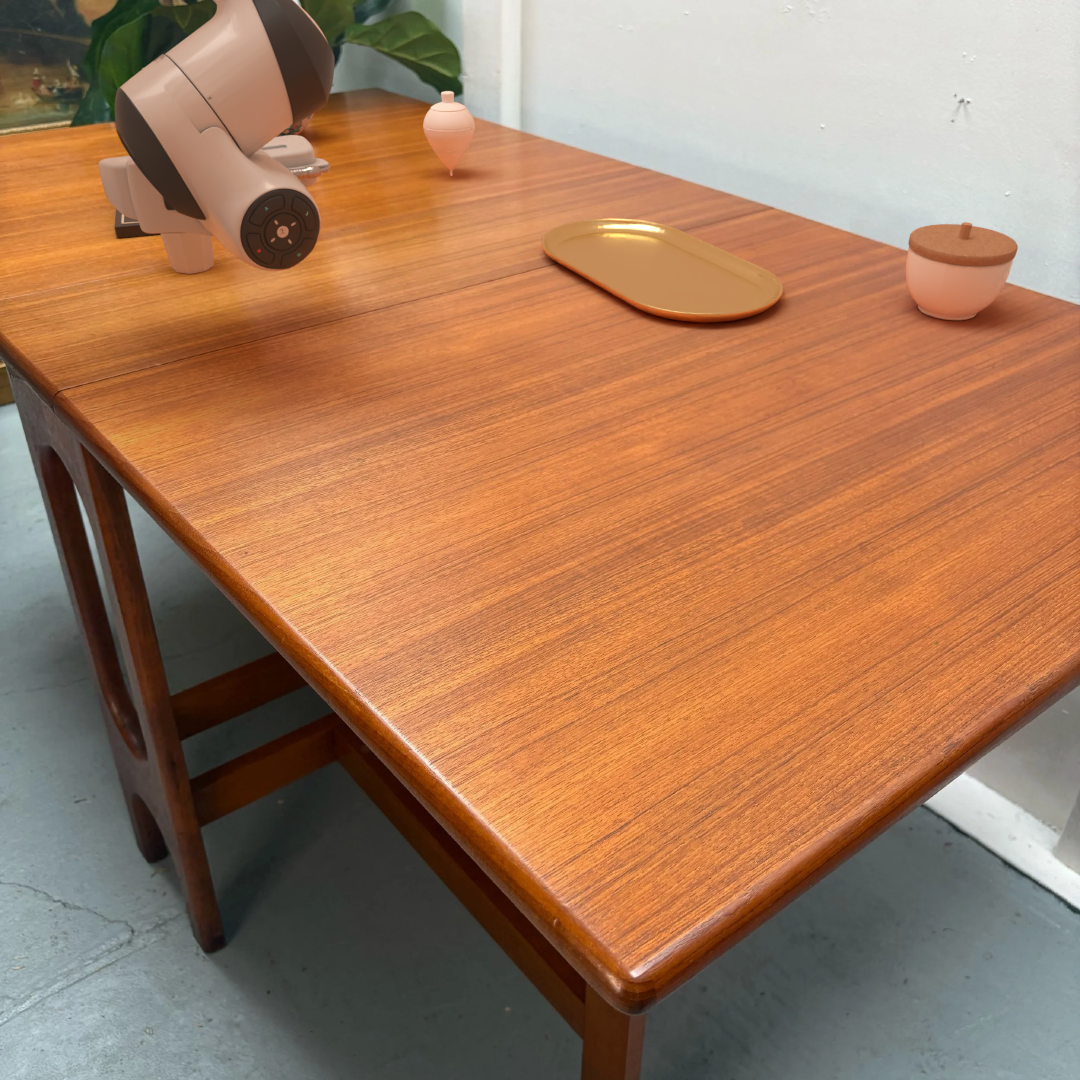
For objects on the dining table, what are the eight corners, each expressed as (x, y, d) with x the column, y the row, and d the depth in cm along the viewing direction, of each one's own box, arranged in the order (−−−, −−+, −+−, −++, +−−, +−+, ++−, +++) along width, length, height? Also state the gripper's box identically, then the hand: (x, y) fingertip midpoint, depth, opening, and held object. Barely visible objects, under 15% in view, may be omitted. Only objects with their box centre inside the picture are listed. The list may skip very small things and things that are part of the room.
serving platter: (636, 222, 137) (637, 210, 136) (817, 307, 112) (819, 293, 111) (514, 244, 129) (513, 232, 128) (678, 341, 104) (679, 326, 103)
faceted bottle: (199, 254, 126) (162, 60, 114) (231, 265, 123) (196, 67, 110) (154, 268, 122) (110, 68, 109) (186, 280, 119) (145, 75, 106)
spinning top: (484, 179, 154) (482, 94, 147) (438, 185, 151) (433, 99, 144) (463, 167, 160) (460, 84, 153) (418, 173, 157) (412, 89, 150)
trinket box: (1010, 304, 112) (1033, 219, 107) (984, 337, 105) (1008, 247, 99) (912, 285, 117) (930, 202, 112) (882, 314, 110) (899, 228, 104)
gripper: (332, 136, 97) (287, 109, 107) (109, 165, 89) (83, 133, 99) (340, 203, 101) (295, 171, 111) (126, 237, 93) (99, 199, 102)
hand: (193, 153), depth 105 cm, fingers open, 8 cm apart
